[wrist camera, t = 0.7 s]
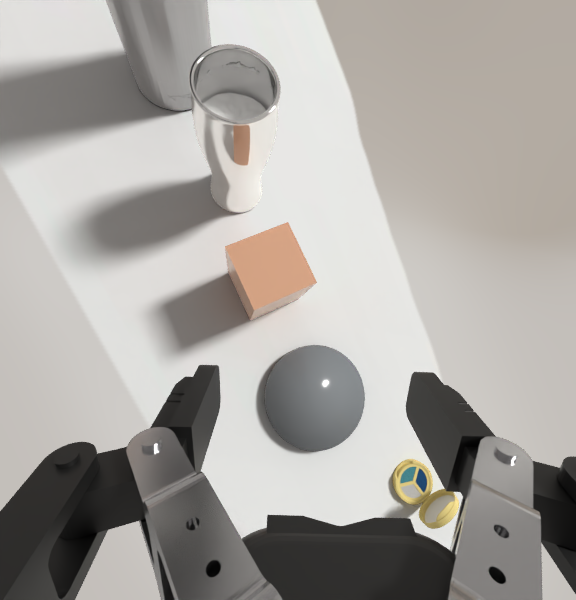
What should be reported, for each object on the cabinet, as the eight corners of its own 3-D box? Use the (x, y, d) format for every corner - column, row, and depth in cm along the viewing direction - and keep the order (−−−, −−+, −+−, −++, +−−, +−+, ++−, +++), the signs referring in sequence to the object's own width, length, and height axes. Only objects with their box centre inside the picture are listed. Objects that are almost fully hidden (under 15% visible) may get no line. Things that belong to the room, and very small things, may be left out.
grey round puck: (248, 372, 34) (248, 372, 33) (335, 329, 36) (337, 329, 35) (290, 467, 33) (292, 471, 32) (377, 417, 35) (381, 419, 34)
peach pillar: (228, 272, 35) (225, 246, 26) (275, 253, 36) (288, 222, 27) (250, 320, 34) (254, 310, 26) (297, 299, 36) (316, 282, 27)
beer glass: (250, 226, 36) (259, 143, 22) (196, 200, 36) (166, 96, 21) (275, 179, 38) (298, 70, 23) (223, 153, 37) (213, 25, 23)
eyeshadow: (412, 450, 35) (439, 466, 30) (439, 486, 35) (472, 508, 30) (384, 478, 34) (409, 499, 29) (413, 515, 34) (441, 542, 29)
